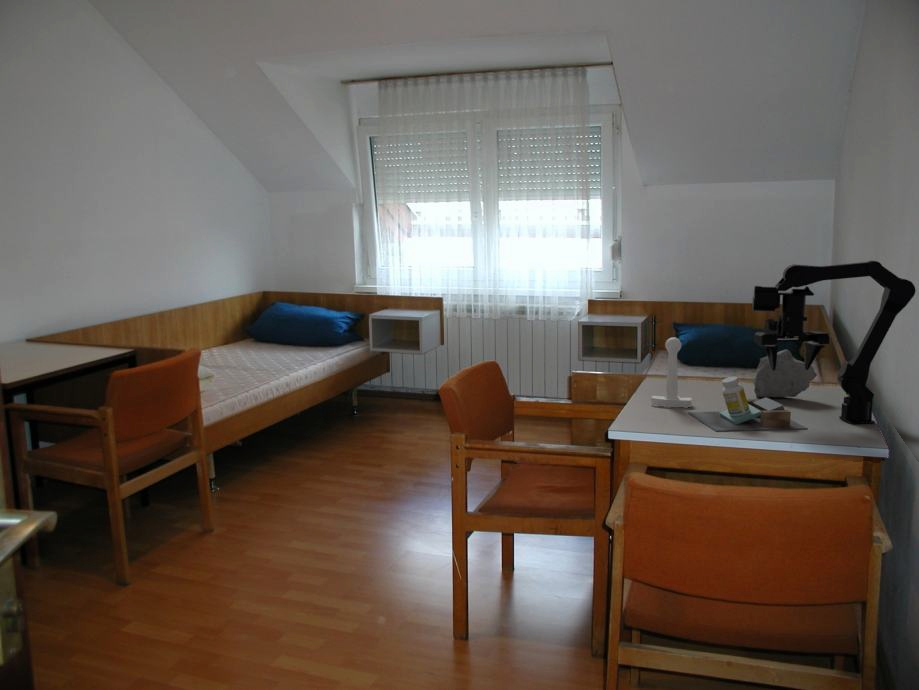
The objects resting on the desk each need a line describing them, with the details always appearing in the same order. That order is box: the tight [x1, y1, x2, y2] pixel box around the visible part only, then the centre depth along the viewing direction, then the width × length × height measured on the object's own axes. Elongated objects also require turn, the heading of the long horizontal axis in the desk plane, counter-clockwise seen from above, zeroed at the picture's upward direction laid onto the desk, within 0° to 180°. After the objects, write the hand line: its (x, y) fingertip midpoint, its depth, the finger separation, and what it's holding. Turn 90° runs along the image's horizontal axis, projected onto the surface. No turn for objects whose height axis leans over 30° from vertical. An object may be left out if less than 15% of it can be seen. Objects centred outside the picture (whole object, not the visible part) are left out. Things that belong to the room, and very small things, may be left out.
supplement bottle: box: [721, 376, 750, 416], centre depth 212 cm, size 5×5×10 cm
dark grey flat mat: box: [688, 398, 808, 433], centre depth 213 cm, size 24×20×4 cm
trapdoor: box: [718, 397, 785, 425], centre depth 214 cm, size 14×10×3 cm
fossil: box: [753, 349, 818, 398], centre depth 240 cm, size 17×7×15 cm, turn 69°
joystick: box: [650, 336, 693, 409], centre depth 232 cm, size 11×8×20 cm
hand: (790, 370), depth 216 cm, fingers open, 9 cm apart
